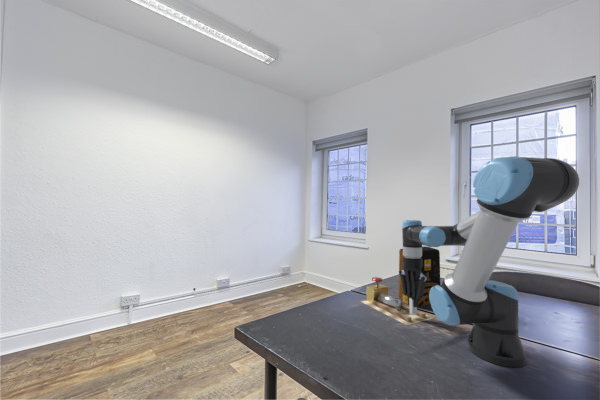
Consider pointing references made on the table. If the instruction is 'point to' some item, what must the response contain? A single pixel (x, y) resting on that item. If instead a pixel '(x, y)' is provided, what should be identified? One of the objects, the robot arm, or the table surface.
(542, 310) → the table surface
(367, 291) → the valve
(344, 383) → the table surface
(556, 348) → the table surface
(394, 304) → the silver metal cylinder
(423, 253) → the black and orange box
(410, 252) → the robot arm
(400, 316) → the board
